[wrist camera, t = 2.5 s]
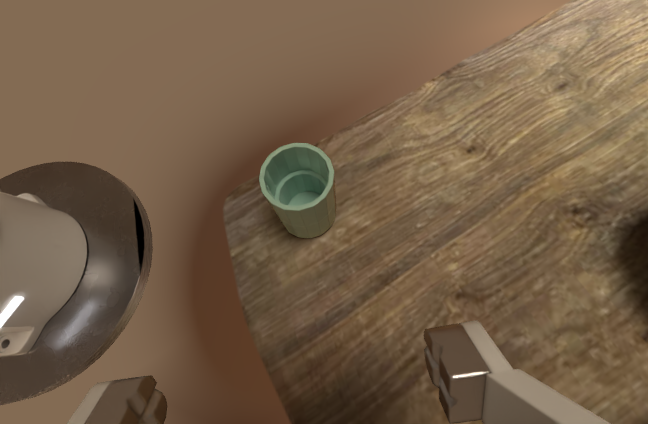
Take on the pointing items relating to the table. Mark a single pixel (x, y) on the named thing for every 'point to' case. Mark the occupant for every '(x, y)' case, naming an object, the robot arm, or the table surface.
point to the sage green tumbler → (300, 188)
